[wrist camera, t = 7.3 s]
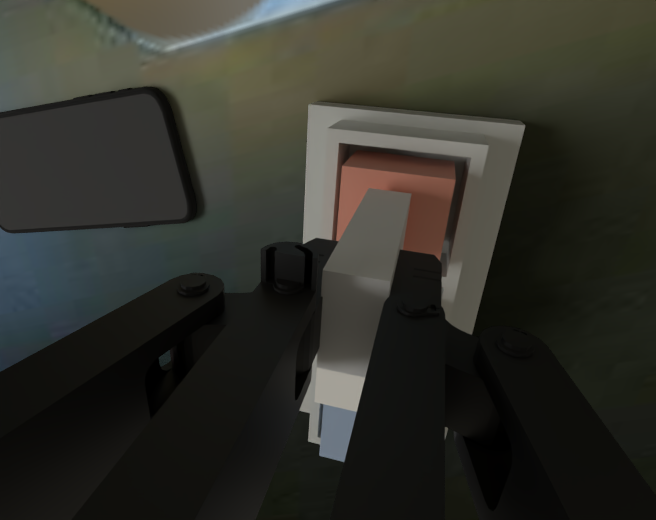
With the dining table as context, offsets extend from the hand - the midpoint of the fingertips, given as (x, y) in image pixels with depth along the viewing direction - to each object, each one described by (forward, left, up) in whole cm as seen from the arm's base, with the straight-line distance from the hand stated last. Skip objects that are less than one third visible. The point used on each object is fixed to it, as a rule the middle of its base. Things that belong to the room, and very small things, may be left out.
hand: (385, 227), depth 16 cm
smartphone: (+2, -19, -7) cm, 20 cm away
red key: (0, 0, -4) cm, 4 cm away
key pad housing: (+6, 0, -6) cm, 8 cm away
